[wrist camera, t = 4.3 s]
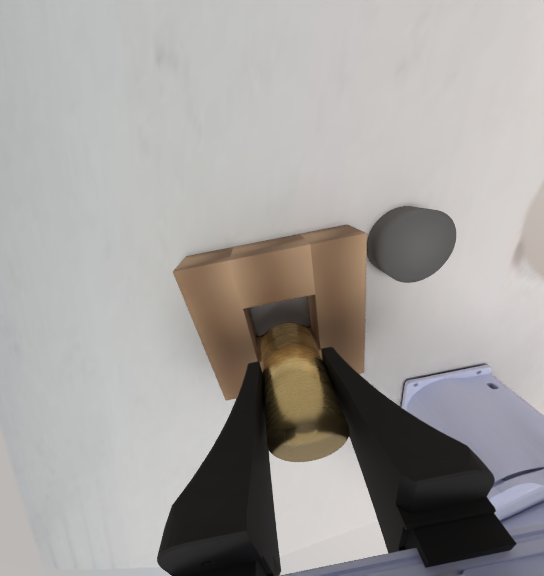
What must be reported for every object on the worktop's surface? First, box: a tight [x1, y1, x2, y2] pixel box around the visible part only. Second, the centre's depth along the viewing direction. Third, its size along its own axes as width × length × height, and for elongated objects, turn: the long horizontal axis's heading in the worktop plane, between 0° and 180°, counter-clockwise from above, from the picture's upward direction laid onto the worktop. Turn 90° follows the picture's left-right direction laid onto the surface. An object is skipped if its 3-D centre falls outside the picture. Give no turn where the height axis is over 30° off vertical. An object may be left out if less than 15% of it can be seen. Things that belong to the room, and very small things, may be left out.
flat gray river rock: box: [367, 206, 456, 283], centre depth 16 cm, size 5×5×2 cm
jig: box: [173, 225, 367, 400], centre depth 17 cm, size 12×12×3 cm
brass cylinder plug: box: [261, 323, 350, 462], centre depth 12 cm, size 4×4×6 cm
